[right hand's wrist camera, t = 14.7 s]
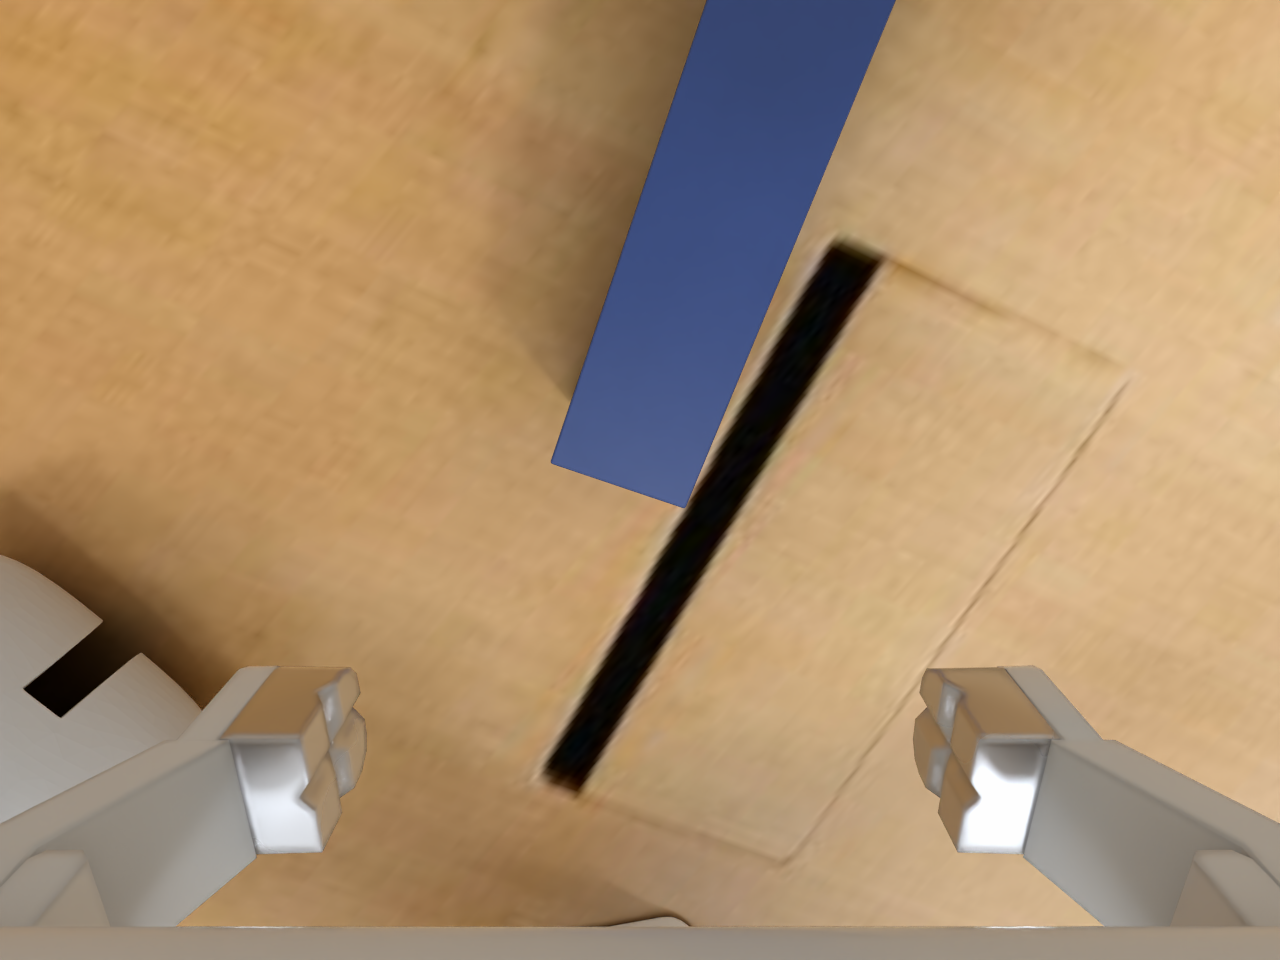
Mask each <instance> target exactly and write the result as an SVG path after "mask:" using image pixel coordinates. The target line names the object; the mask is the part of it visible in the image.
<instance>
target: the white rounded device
mask: <svg viewBox="0 0 1280 960" xmlns="http://www.w3.org/2000/svg"><path fill="white" fill-rule="evenodd" d="M102 622H103V620H102V619H101V618H99V617H98V616H97V615H96V614H94V613H93V612H92V611H91V610H89V609H88V608H87V607H86V606H85V605H83V604H82V603H81V602H80V601H78V600H77V599H76V598H74V597H73V596H72V595H70V594H69V593H68V592H66V591H65V590H64V589H62V588H61V587H60V586H58V585H57V584H55V583H54V582H52V581H51V580H49V579H48V578H46V577H45V576H43V575H42V574H40V573H39V572H37V571H35V570H34V569H32V568H30V567H28V566H26V565H25V564H23V563H20V562H18V561H16V560H14V559H11V558H9V557H6V556H3V555H0V823H2V822H4V821H6V820H8V819H10V818H12V817H14V816H16V815H18V814H20V813H22V812H24V811H26V810H28V809H30V808H32V807H34V806H36V805H38V804H40V803H42V802H44V801H46V800H48V799H50V798H52V797H54V796H56V795H58V794H60V793H62V792H63V791H65V790H67V789H69V788H71V787H73V786H75V785H77V784H79V783H81V782H83V781H85V780H87V779H89V778H91V777H93V776H95V775H97V774H99V773H101V772H103V771H105V770H107V769H109V768H111V767H113V766H115V765H117V764H119V763H121V762H123V761H125V760H127V759H129V758H131V757H133V756H135V755H137V754H139V753H141V752H143V751H144V750H146V749H148V748H150V747H152V746H154V745H156V744H158V743H160V742H162V741H164V740H177V739H178V738H179V737H180V736H181V734H182V733H183V732H184V731H185V730H186V729H187V728H188V726H189V725H190V724H191V723H192V722H193V721H194V720H195V718H196V717H197V716H198V715H199V714H200V713H201V712H202V710H201V709H200V708H199V706H198V705H197V704H196V703H195V701H194V700H193V699H192V698H191V697H190V696H189V695H188V694H187V693H186V692H185V691H184V690H183V689H182V688H181V687H180V686H179V685H178V684H177V683H176V682H175V681H174V680H172V679H171V678H170V677H169V676H168V675H167V674H166V673H165V672H164V671H163V670H161V669H160V668H159V667H158V666H157V665H156V664H154V663H153V662H152V661H151V660H150V659H149V658H147V657H146V656H145V655H144V654H143V653H139V654H138V655H136V656H135V657H134V658H132V659H131V660H130V661H128V662H127V663H126V664H125V665H123V666H122V667H121V668H120V669H119V670H117V671H116V672H115V673H114V674H113V675H111V676H110V677H109V678H108V679H106V680H105V681H104V682H103V683H102V684H100V685H99V686H98V687H97V688H96V689H94V690H93V691H92V692H91V693H90V694H88V695H87V696H86V697H85V698H84V699H82V700H81V701H80V702H79V703H78V704H76V705H75V706H74V707H73V708H72V709H71V710H69V711H68V712H67V713H66V714H65V715H63V716H62V717H61V718H60V717H58V716H57V715H55V714H54V713H53V712H52V711H50V710H49V709H48V708H46V707H45V706H44V705H42V704H41V703H40V702H39V701H37V700H36V699H35V698H33V697H32V696H31V695H30V694H28V693H27V692H26V691H25V690H24V688H25V687H26V686H28V685H29V684H30V683H31V682H32V681H34V680H35V679H36V678H37V677H38V676H40V675H41V674H42V673H43V672H45V671H46V670H47V669H48V668H49V667H51V666H52V665H53V664H54V663H55V662H57V661H58V660H59V659H60V658H61V657H62V656H64V655H65V654H66V653H67V652H68V651H70V650H71V649H72V648H73V647H74V646H75V645H77V644H78V643H79V642H80V641H81V640H82V639H84V638H85V637H86V636H87V635H88V634H90V633H91V632H92V631H93V630H94V629H95V628H96V627H98V626H99V625H100V624H101V623H102Z"/></svg>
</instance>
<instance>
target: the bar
mask: <svg viewBox="0 0 1280 960" xmlns="http://www.w3.org/2000/svg"><path fill="white" fill-rule="evenodd" d="M895 1H896V0H707V1H706V4H705V7H704V10H703V13H702V16H701V19H700V22H699V24H698V27H697V30H696V33H695V36H694V39H693V42H692V45H691V48H690V51H689V54H688V57H687V60H686V63H685V66H684V69H683V72H682V75H681V78H680V81H679V84H678V87H677V89H676V92H675V95H674V98H673V101H672V104H671V107H670V110H669V113H668V116H667V119H666V122H665V125H664V128H663V131H662V134H661V137H660V140H659V143H658V146H657V149H656V152H655V155H654V157H653V160H652V163H651V166H650V169H649V172H648V175H647V178H646V181H645V184H644V187H643V190H642V193H641V196H640V199H639V202H638V205H637V208H636V211H635V214H634V217H633V220H632V223H631V225H630V228H629V231H628V234H627V237H626V240H625V243H624V246H623V249H622V252H621V255H620V258H619V261H618V264H617V267H616V270H615V273H614V276H613V279H612V282H611V285H610V288H609V291H608V293H607V296H606V299H605V302H604V305H603V308H602V311H601V314H600V317H599V320H598V323H597V326H596V329H595V332H594V335H593V338H592V341H591V344H590V347H589V350H588V353H587V356H586V358H585V361H584V364H583V367H582V370H581V373H580V376H579V379H578V382H577V385H576V388H575V391H574V394H573V397H572V400H571V403H570V406H569V409H568V412H567V415H566V418H565V421H564V424H563V426H562V429H561V432H560V435H559V438H558V441H557V444H556V447H555V450H554V453H553V456H552V459H551V463H552V464H554V465H557V466H560V467H563V468H566V469H569V470H572V471H575V472H578V473H581V474H584V475H587V476H590V477H593V478H596V479H599V480H602V481H605V482H608V483H611V484H614V485H617V486H619V487H622V488H625V489H628V490H631V491H634V492H637V493H640V494H643V495H646V496H649V497H652V498H655V499H658V500H661V501H664V502H667V503H670V504H673V505H676V506H679V507H682V508H685V507H686V505H687V503H688V500H689V498H690V495H691V493H692V491H693V488H694V486H695V483H696V481H697V478H698V476H699V474H700V471H701V469H702V466H703V464H704V462H705V459H706V457H707V454H708V452H709V450H710V447H711V445H712V442H713V440H714V437H715V435H716V433H717V430H718V428H719V425H720V423H721V421H722V418H723V416H724V413H725V411H726V409H727V406H728V404H729V401H730V399H731V396H732V394H733V392H734V389H735V387H736V384H737V382H738V380H739V377H740V375H741V372H742V370H743V368H744V365H745V363H746V360H747V358H748V355H749V353H750V351H751V348H752V346H753V343H754V341H755V339H756V336H757V334H758V331H759V329H760V327H761V324H762V322H763V319H764V317H765V314H766V312H767V310H768V307H769V305H770V302H771V300H772V298H773V295H774V293H775V290H776V288H777V286H778V283H779V281H780V278H781V276H782V273H783V271H784V269H785V266H786V264H787V261H788V259H789V257H790V254H791V252H792V249H793V247H794V245H795V242H796V240H797V237H798V235H799V232H800V230H801V228H802V225H803V223H804V220H805V218H806V216H807V213H808V211H809V208H810V206H811V204H812V201H813V199H814V196H815V194H816V191H817V189H818V187H819V184H820V182H821V179H822V177H823V175H824V172H825V170H826V167H827V165H828V162H829V160H830V158H831V155H832V153H833V150H834V148H835V146H836V143H837V141H838V138H839V136H840V134H841V131H842V129H843V126H844V124H845V121H846V119H847V117H848V114H849V112H850V109H851V107H852V105H853V102H854V100H855V97H856V95H857V93H858V90H859V88H860V85H861V83H862V80H863V78H864V76H865V73H866V71H867V68H868V66H869V64H870V61H871V59H872V56H873V54H874V52H875V49H876V47H877V44H878V42H879V39H880V37H881V35H882V32H883V30H884V27H885V25H886V23H887V20H888V18H889V15H890V13H891V11H892V8H893V6H894V3H895Z"/></svg>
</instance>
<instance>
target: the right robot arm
mask: <svg viewBox="0 0 1280 960" xmlns="http://www.w3.org/2000/svg"><path fill="white" fill-rule="evenodd" d="M359 695H360V688H359V683H358V678H357V673H356V672H355V671H354V670H353V669H351V668H348V667H301V666H282V667H279V666H247V667H244V668H241V669H239V670H238V671H237V672H236V673H235V674H234V675H233V676H232V677H231V679H230V680H229V681H228V682H227V683H226V684H225V685H224V687H223V688H222V689H221V690H220V691H219V692H218V693H217V695H216V696H215V697H214V698H213V699H212V700H211V701H210V703H209V704H208V705H207V706H206V707H205V708H204V709H203V711H202V712H201V713H200V714H199V715H198V716H197V717H196V718H195V720H194V721H193V722H192V723H191V724H190V725H189V726H188V728H187V729H186V730H185V731H184V732H183V733H182V734H181V736H180V737H179V738H178V739H177V740H164V741H162V742H160V743H158V744H156V745H154V746H152V747H150V748H148V749H146V750H144V751H143V752H141V753H139V754H137V755H135V756H133V757H131V758H129V759H127V760H125V761H123V762H121V763H119V764H117V765H115V766H113V767H111V768H109V769H107V770H105V771H103V772H101V773H99V774H97V775H95V776H93V777H91V778H89V779H87V780H85V781H83V782H81V783H79V784H77V785H75V786H73V787H71V788H69V789H67V790H65V791H63V792H62V793H60V794H58V795H56V796H54V797H52V798H50V799H48V800H46V801H44V802H42V803H40V804H38V805H36V806H34V807H32V808H30V809H28V810H26V811H24V812H22V813H20V814H18V815H16V816H14V817H12V818H10V819H8V820H6V821H4V822H2V823H0V960H1280V824H1279V823H1277V822H1275V821H1273V820H1271V819H1269V818H1267V817H1265V816H1264V815H1262V814H1260V813H1258V812H1256V811H1254V810H1252V809H1250V808H1248V807H1246V806H1244V805H1242V804H1240V803H1238V802H1236V801H1234V800H1232V799H1230V798H1228V797H1226V796H1224V795H1222V794H1220V793H1218V792H1216V791H1214V790H1212V789H1210V788H1208V787H1206V786H1204V785H1202V784H1200V783H1199V782H1197V781H1195V780H1193V779H1191V778H1189V777H1187V776H1185V775H1183V774H1181V773H1179V772H1177V771H1175V770H1173V769H1171V768H1169V767H1167V766H1165V765H1163V764H1161V763H1159V762H1157V761H1155V760H1153V759H1151V758H1149V757H1147V756H1145V755H1143V754H1141V753H1139V752H1137V751H1135V750H1133V749H1132V748H1130V747H1128V746H1126V745H1124V744H1122V743H1120V742H1118V741H1116V740H1103V739H1102V738H1101V737H1100V736H1099V734H1098V733H1097V732H1096V731H1095V730H1094V729H1093V728H1092V726H1091V725H1090V724H1089V723H1088V722H1087V721H1086V720H1085V719H1084V717H1083V716H1082V715H1081V714H1080V713H1079V712H1078V711H1077V709H1076V708H1075V707H1074V706H1073V705H1072V704H1071V703H1070V701H1069V700H1068V699H1067V698H1066V697H1065V696H1064V695H1063V693H1062V692H1061V691H1060V690H1059V689H1058V688H1057V687H1056V685H1055V684H1054V683H1053V682H1052V681H1051V680H1050V679H1049V677H1048V676H1047V675H1046V674H1045V673H1044V672H1043V671H1042V670H1041V669H1039V668H1037V667H1035V666H1002V667H992V668H927V669H926V671H925V673H924V675H923V677H922V682H921V687H920V695H921V696H922V698H923V700H924V702H925V704H926V705H927V708H926V709H925V710H924V711H923V712H922V713H921V714H920V715H919V716H918V717H917V718H916V719H915V726H914V735H913V745H914V756H915V761H916V765H917V768H918V772H919V775H920V777H921V779H922V781H923V783H924V785H925V787H926V788H927V789H928V790H930V791H931V792H933V793H934V794H935V795H937V796H938V797H940V803H939V809H938V814H939V816H940V818H941V820H942V822H943V824H944V826H945V828H946V830H947V832H948V834H949V836H950V838H951V840H952V842H953V844H954V846H955V848H956V850H957V852H964V853H1000V854H1024V856H1023V858H1025V859H1026V860H1027V861H1028V862H1029V863H1031V864H1032V865H1033V866H1034V867H1035V868H1036V869H1038V870H1039V871H1040V872H1041V873H1042V874H1044V875H1045V876H1046V877H1047V878H1048V879H1049V880H1051V881H1052V882H1053V883H1054V884H1055V885H1057V886H1058V887H1059V888H1060V889H1061V890H1062V891H1064V892H1065V893H1066V894H1067V895H1068V896H1070V897H1071V898H1072V899H1073V900H1074V901H1075V902H1077V903H1078V904H1079V905H1080V906H1081V907H1082V908H1084V909H1085V910H1086V911H1087V912H1088V913H1090V914H1091V915H1092V916H1093V917H1094V918H1095V919H1097V920H1098V921H1099V922H1100V923H1101V924H1103V925H1104V926H1078V927H837V926H688V925H687V924H686V923H684V922H683V921H681V920H679V919H677V918H674V917H659V918H654V919H648V920H643V921H637V922H631V923H626V924H620V925H615V926H609V927H175V926H176V925H178V924H179V923H180V922H181V921H182V920H184V919H185V918H186V917H187V916H188V915H189V914H191V913H192V912H193V911H194V910H195V909H197V908H198V907H199V906H200V905H201V904H202V903H204V902H205V901H206V900H207V899H208V898H210V897H211V896H212V895H213V894H214V893H215V892H217V891H218V890H219V889H220V888H221V887H223V886H224V885H225V884H226V883H227V882H229V881H230V880H231V879H232V878H233V877H234V876H236V875H237V874H238V873H239V872H240V871H242V870H243V869H244V868H245V867H246V866H247V865H249V864H250V863H251V862H252V861H253V860H255V859H256V857H257V856H256V854H279V853H314V852H323V850H324V848H325V846H326V844H327V842H328V840H329V838H330V836H331V834H332V832H333V830H334V828H335V826H336V824H337V822H338V820H339V818H340V816H341V814H342V809H341V803H340V797H342V796H343V795H345V794H346V793H347V792H349V791H350V790H352V789H353V788H354V787H355V785H356V783H357V781H358V779H359V777H360V774H361V772H362V769H363V764H364V759H365V755H366V747H367V732H366V725H365V719H364V718H363V717H362V716H361V715H360V714H359V713H358V712H357V711H356V710H355V709H354V708H353V705H354V704H355V702H356V700H357V698H358V697H359Z"/></svg>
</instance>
